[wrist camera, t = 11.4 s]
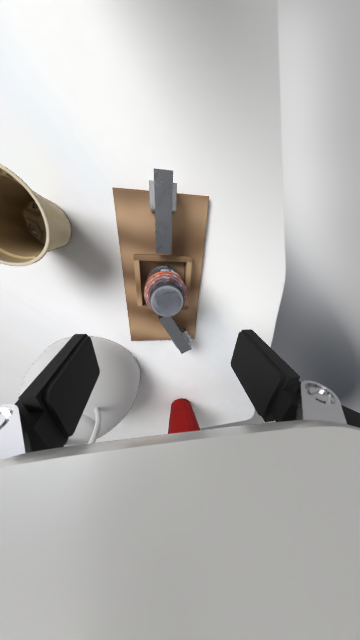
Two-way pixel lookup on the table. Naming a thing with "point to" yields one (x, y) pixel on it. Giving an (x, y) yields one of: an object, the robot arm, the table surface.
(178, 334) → the pair of grey blocks
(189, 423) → the plastic cup
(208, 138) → the table surface
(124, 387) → the kettle
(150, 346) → the table surface
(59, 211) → the flower pot
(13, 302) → the table surface
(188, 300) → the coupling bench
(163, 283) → the supplement bottle
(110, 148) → the table surface
